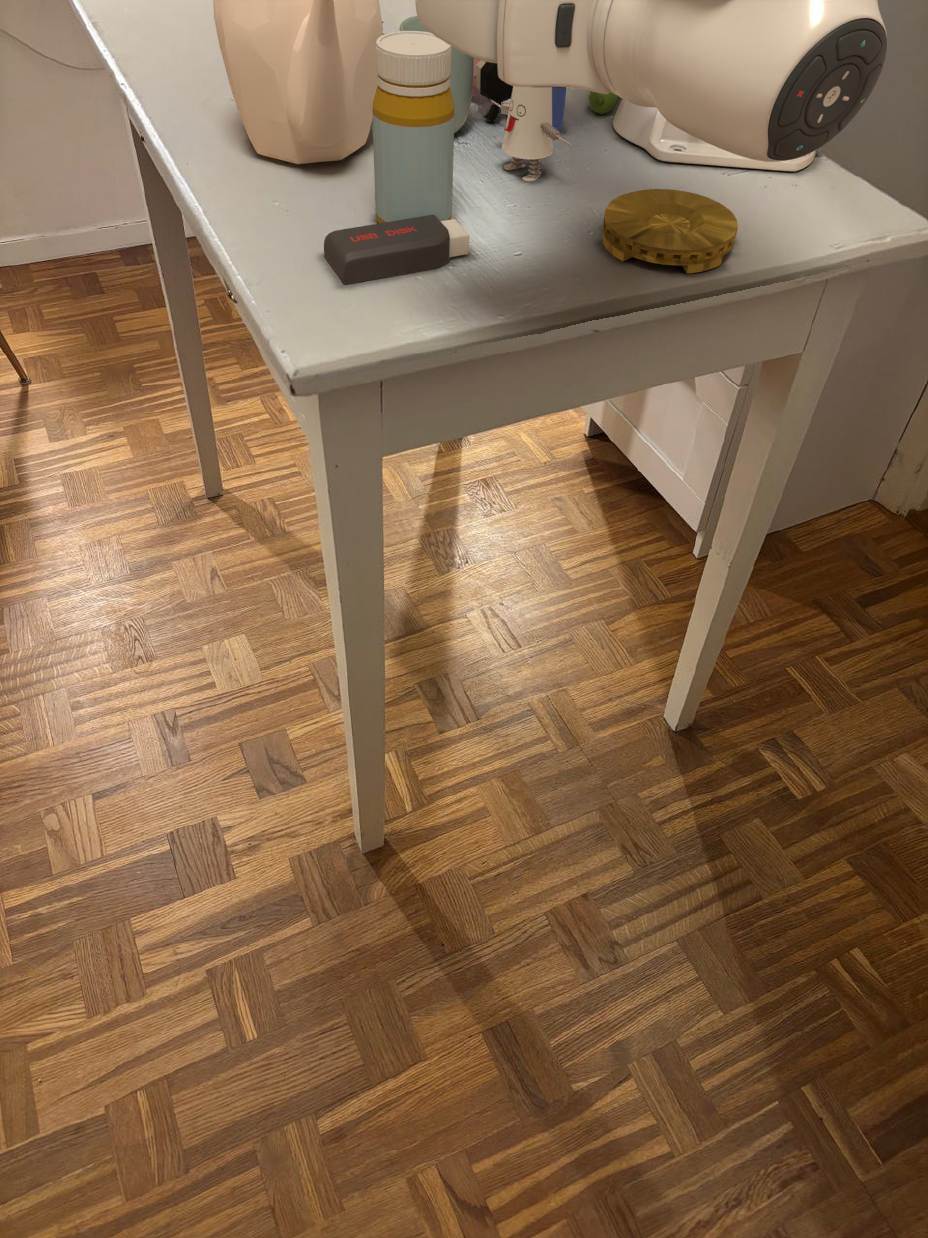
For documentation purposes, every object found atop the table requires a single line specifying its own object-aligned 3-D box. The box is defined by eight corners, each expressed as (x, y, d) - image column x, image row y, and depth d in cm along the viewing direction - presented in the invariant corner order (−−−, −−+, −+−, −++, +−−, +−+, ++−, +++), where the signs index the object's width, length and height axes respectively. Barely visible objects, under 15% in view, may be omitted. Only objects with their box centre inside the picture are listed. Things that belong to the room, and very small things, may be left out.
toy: (448, -10, 108) (494, 21, 98) (498, 22, 112) (548, 56, 102) (415, 65, 112) (456, 103, 102) (464, 93, 116) (508, 133, 106)
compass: (618, 203, 92) (621, 180, 91) (741, 224, 90) (746, 201, 88) (587, 258, 85) (590, 235, 83) (720, 283, 82) (726, 260, 81)
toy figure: (467, 156, 99) (470, 66, 93) (509, 145, 101) (515, 57, 95) (539, 200, 92) (548, 106, 86) (582, 187, 95) (594, 95, 89)
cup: (463, 147, 100) (467, 42, 93) (392, 139, 101) (390, 33, 94) (477, 121, 106) (482, 18, 98) (409, 112, 106) (409, 10, 99)
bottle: (410, 200, 91) (410, 23, 80) (466, 223, 88) (473, 43, 77) (360, 223, 88) (352, 41, 77) (416, 248, 85) (417, 63, 74)
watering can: (260, 214, 88) (232, -24, 74) (214, 109, 105) (184, -102, 91) (420, 197, 92) (421, -33, 78) (351, 98, 109) (342, -106, 95)
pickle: (599, 88, 114) (603, 59, 112) (625, 92, 114) (629, 62, 111) (582, 117, 108) (586, 86, 105) (610, 121, 107) (615, 90, 105)
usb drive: (324, 257, 83) (321, 226, 81) (449, 235, 87) (450, 205, 85) (343, 284, 80) (342, 253, 78) (472, 261, 84) (474, 230, 81)
